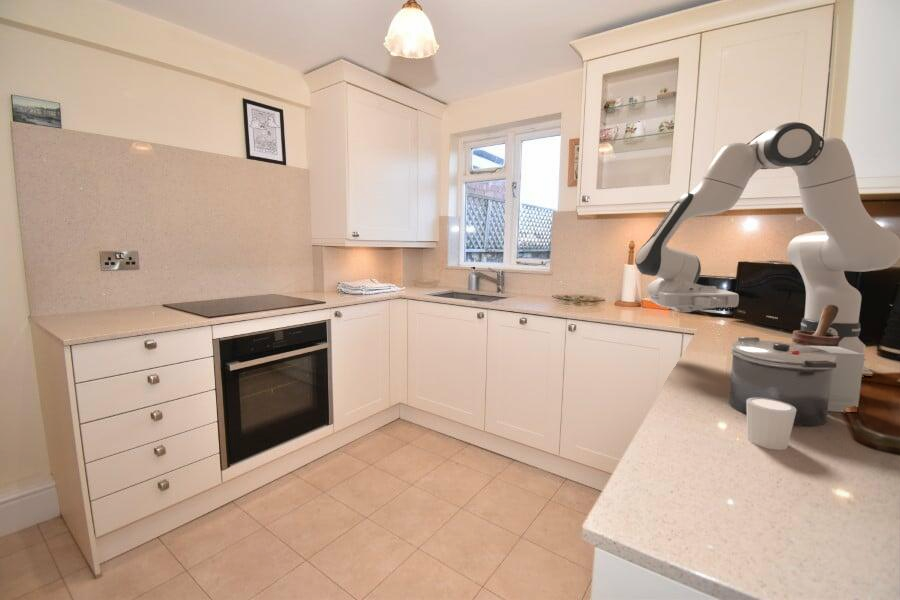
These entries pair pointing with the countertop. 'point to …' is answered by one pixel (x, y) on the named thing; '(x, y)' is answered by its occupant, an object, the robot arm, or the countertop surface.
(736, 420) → the countertop surface
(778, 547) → the countertop surface
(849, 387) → the supplement box
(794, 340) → the mortar and pestle
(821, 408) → the cooker pot
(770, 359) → the cooker lid
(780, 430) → the white tapered cup
